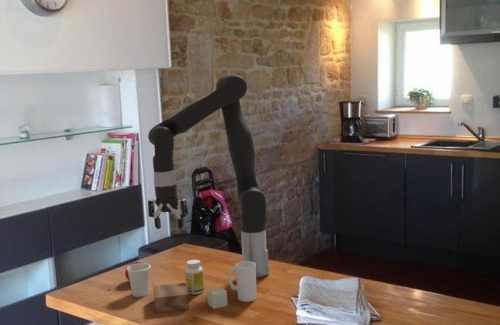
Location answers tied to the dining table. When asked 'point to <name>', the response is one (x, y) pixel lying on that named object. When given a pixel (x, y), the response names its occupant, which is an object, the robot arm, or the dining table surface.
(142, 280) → the dixie cup
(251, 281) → the mug
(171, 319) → the dining table surface
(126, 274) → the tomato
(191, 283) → the pill bottle
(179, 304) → the walnut block
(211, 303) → the sage block
